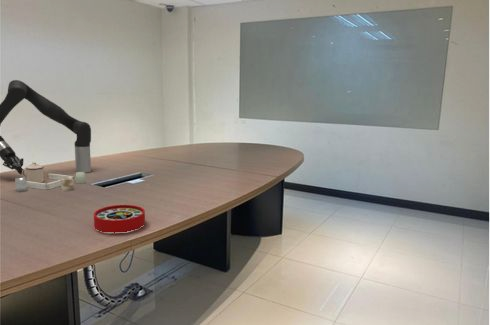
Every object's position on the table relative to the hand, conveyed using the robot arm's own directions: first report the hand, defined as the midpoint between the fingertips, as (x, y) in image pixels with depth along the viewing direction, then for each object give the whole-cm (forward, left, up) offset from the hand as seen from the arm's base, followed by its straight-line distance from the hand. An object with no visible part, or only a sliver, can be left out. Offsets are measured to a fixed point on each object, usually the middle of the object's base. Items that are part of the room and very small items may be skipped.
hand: (22, 173), depth 210 cm
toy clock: (-51, +86, -5) cm, 100 cm away
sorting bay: (-14, +9, -5) cm, 17 cm away
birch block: (-25, +24, -5) cm, 35 cm away
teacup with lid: (-6, +3, -5) cm, 8 cm away
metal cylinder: (-3, +22, -5) cm, 23 cm away
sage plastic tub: (-31, +10, -5) cm, 33 cm away
